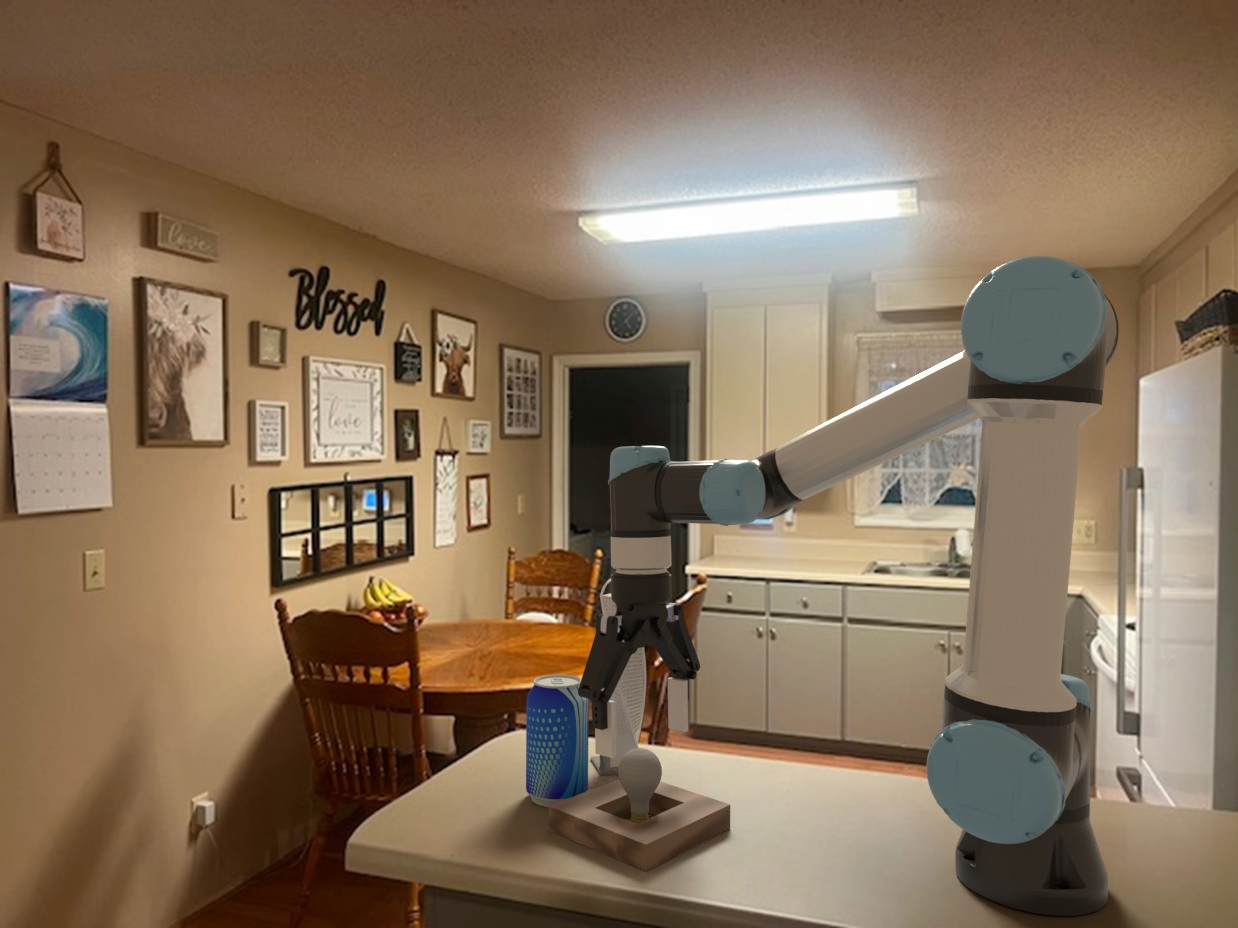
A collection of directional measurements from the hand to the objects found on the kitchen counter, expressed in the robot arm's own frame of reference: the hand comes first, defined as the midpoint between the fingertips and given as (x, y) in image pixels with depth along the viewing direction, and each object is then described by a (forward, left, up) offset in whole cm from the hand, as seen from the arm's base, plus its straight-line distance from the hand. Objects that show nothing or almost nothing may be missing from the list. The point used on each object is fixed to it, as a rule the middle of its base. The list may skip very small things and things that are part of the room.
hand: (643, 741), depth 109 cm
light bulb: (+1, 0, -11) cm, 11 cm away
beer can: (+15, 0, -11) cm, 19 cm away
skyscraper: (+18, -16, -11) cm, 27 cm away
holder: (0, 0, -11) cm, 11 cm away
